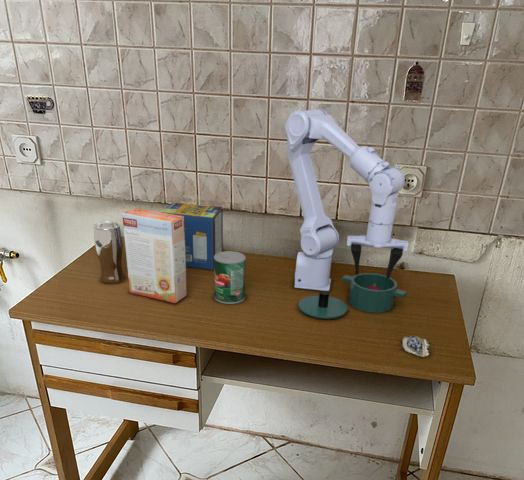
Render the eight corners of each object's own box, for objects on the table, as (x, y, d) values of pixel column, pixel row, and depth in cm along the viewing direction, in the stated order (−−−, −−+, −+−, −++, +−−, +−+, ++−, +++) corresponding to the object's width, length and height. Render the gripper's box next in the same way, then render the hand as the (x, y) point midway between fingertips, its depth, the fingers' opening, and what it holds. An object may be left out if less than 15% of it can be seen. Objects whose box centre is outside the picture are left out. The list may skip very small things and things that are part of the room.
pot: (392, 320, 126) (396, 298, 123) (331, 301, 134) (334, 280, 131) (409, 304, 134) (414, 283, 131) (351, 287, 142) (354, 267, 139)
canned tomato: (250, 295, 135) (251, 255, 129) (235, 306, 129) (235, 265, 123) (224, 288, 138) (224, 249, 132) (208, 299, 132) (207, 258, 126)
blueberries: (423, 338, 119) (425, 330, 118) (439, 356, 112) (441, 348, 111) (395, 339, 118) (397, 332, 117) (409, 357, 111) (411, 350, 110)
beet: (362, 303, 132) (366, 286, 129) (362, 296, 136) (366, 279, 133) (379, 306, 132) (383, 289, 129) (379, 299, 135) (383, 282, 133)
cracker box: (188, 296, 133) (185, 215, 122) (175, 304, 128) (171, 221, 118) (143, 284, 138) (136, 206, 127) (128, 293, 133) (120, 212, 122)
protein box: (175, 252, 160) (172, 201, 152) (223, 257, 157) (223, 206, 149) (162, 264, 151) (159, 211, 143) (213, 270, 148) (213, 216, 141)
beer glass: (94, 281, 138) (86, 226, 131) (110, 272, 144) (103, 219, 136) (116, 286, 136) (109, 231, 129) (131, 277, 142) (126, 223, 134)
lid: (332, 325, 122) (334, 308, 120) (288, 311, 128) (290, 293, 126) (355, 308, 131) (357, 291, 128) (313, 295, 137) (315, 278, 134)
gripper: (349, 223, 120) (342, 278, 127) (413, 229, 118) (402, 284, 125) (350, 215, 126) (343, 267, 133) (411, 220, 124) (400, 273, 131)
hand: (372, 275), depth 130 cm, fingers open, 7 cm apart
